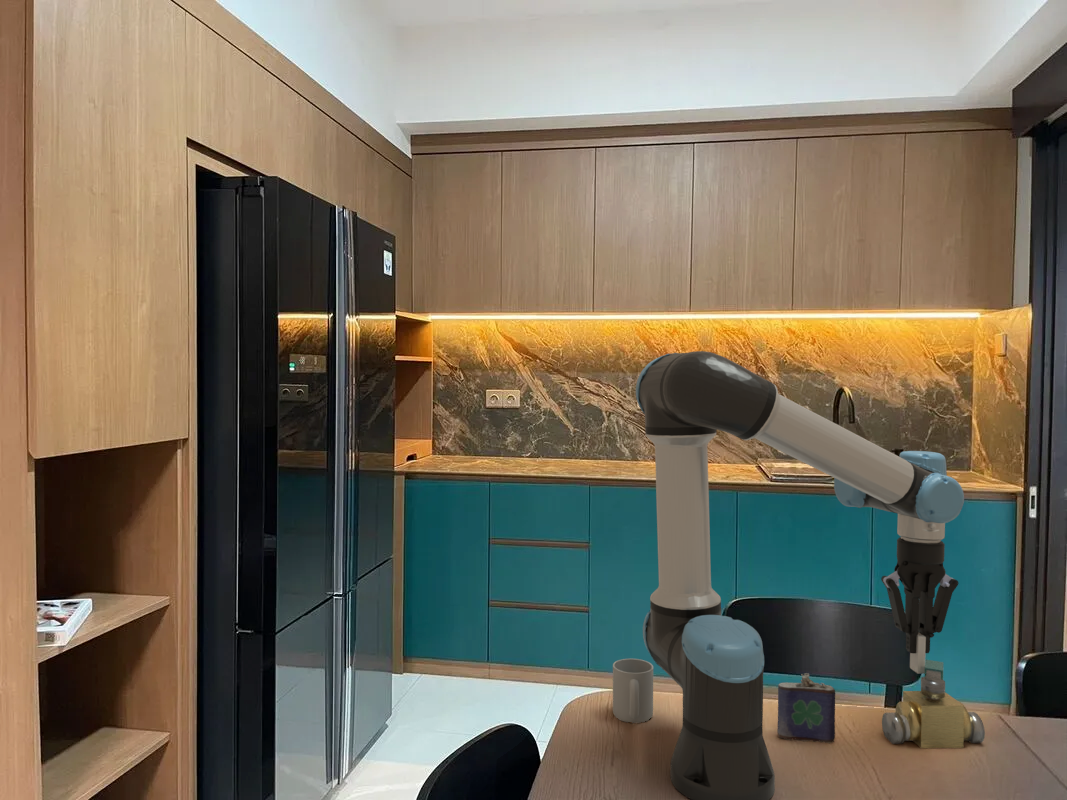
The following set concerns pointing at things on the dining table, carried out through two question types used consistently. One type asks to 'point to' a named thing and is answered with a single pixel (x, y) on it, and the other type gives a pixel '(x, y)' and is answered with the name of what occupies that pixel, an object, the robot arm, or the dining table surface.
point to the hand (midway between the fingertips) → (917, 670)
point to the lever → (933, 680)
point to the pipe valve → (932, 722)
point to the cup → (633, 690)
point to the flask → (806, 711)
